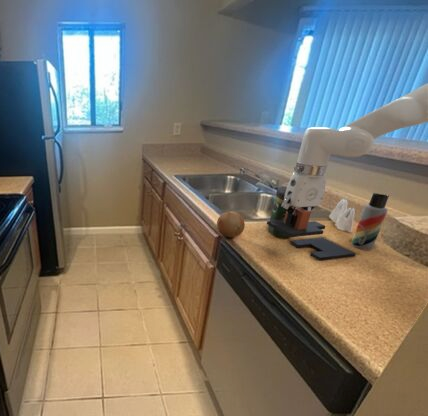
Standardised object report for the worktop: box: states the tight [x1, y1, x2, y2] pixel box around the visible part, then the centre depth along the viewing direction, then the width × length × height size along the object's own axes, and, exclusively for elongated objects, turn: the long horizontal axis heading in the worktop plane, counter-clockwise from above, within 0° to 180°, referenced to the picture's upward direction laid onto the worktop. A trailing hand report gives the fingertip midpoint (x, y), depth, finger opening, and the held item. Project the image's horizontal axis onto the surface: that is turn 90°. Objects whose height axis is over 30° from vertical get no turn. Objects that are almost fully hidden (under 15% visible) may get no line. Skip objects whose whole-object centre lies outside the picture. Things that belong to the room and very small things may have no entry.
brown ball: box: [216, 211, 246, 238], centre depth 105 cm, size 10×10×10 cm
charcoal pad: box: [289, 236, 357, 262], centre depth 96 cm, size 14×12×1 cm
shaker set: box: [328, 198, 356, 233], centre depth 112 cm, size 12×4×11 cm, turn 162°
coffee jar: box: [267, 185, 292, 239], centre depth 105 cm, size 10×8×19 cm
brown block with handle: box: [266, 207, 326, 238], centre depth 90 cm, size 16×10×7 cm, turn 100°
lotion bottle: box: [351, 192, 390, 251], centre depth 94 cm, size 6×6×20 cm
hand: (294, 224), depth 90 cm, fingers closed on brown block with handle, 3 cm apart
